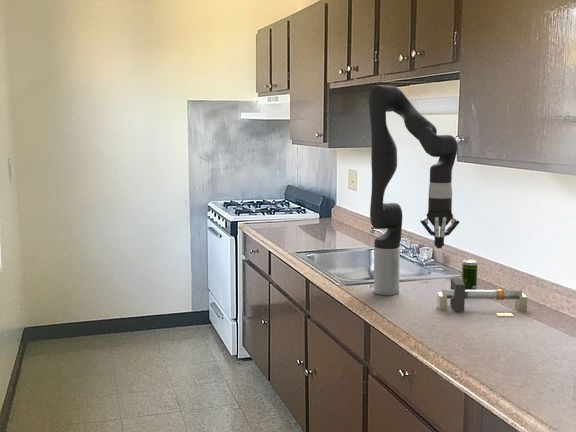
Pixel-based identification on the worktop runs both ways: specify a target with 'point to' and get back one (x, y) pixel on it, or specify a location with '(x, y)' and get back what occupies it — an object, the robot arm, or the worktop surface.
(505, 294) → the pipe
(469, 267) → the beer can
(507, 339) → the worktop surface
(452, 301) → the collar
